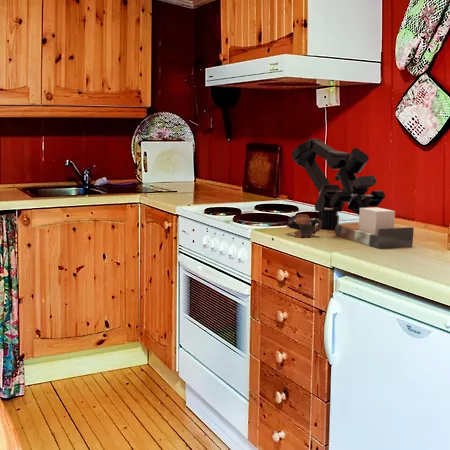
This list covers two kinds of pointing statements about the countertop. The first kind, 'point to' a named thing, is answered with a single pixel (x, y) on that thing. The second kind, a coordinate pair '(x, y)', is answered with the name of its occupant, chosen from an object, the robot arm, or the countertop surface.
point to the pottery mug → (304, 225)
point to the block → (375, 219)
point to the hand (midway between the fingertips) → (367, 219)
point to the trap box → (379, 237)
